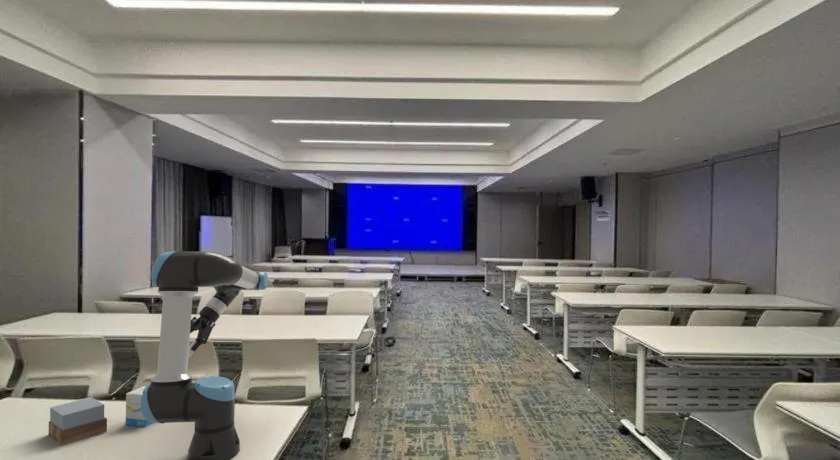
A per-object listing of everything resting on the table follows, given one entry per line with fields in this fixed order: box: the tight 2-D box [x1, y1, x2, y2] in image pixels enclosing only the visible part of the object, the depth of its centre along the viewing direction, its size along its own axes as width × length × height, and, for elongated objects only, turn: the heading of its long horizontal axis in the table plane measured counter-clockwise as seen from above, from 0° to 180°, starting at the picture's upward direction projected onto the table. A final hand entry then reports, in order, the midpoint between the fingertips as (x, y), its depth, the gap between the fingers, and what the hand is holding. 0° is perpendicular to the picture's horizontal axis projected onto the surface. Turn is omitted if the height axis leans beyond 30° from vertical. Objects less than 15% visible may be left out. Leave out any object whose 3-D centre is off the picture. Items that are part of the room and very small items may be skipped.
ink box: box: [125, 385, 152, 428], centre depth 168 cm, size 9×8×12 cm
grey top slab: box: [49, 396, 105, 431], centre depth 158 cm, size 12×12×5 cm
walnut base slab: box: [48, 416, 108, 446], centre depth 158 cm, size 13×13×5 cm
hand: (176, 354), depth 178 cm, fingers open, 13 cm apart
